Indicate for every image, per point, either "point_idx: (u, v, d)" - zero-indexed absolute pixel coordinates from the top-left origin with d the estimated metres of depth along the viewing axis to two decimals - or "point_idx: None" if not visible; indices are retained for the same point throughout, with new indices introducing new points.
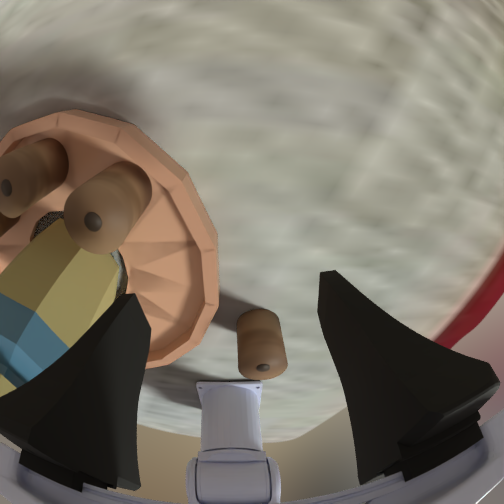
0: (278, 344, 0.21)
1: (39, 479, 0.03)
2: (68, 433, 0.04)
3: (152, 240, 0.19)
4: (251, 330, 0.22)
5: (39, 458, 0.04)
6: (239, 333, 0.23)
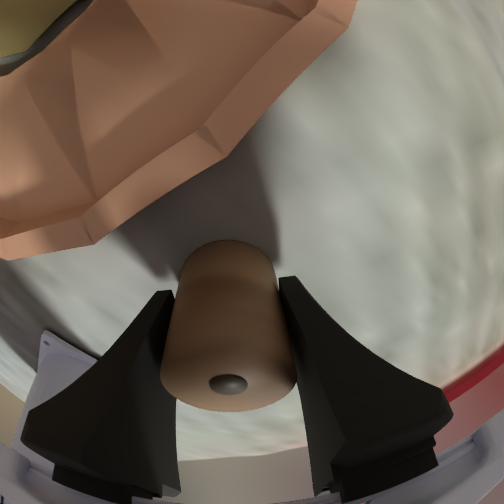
0: (290, 343, 0.08)
1: (39, 479, 0.03)
2: (119, 445, 0.04)
3: None
4: (241, 279, 0.08)
5: (78, 474, 0.04)
6: (199, 273, 0.09)
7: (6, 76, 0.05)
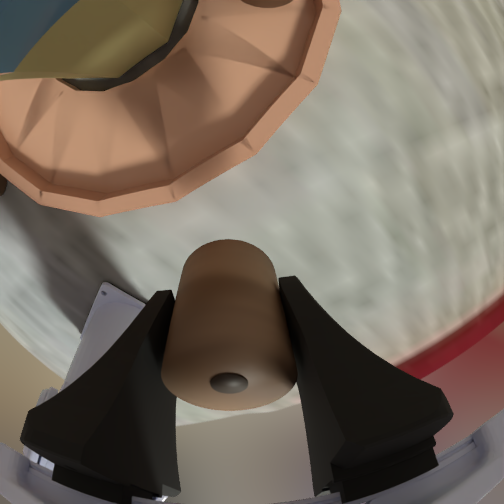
0: None
1: (39, 479, 0.03)
2: (119, 445, 0.04)
3: (243, 36, 0.11)
4: (241, 277, 0.08)
5: (78, 474, 0.04)
6: (199, 272, 0.09)
7: (101, 92, 0.12)
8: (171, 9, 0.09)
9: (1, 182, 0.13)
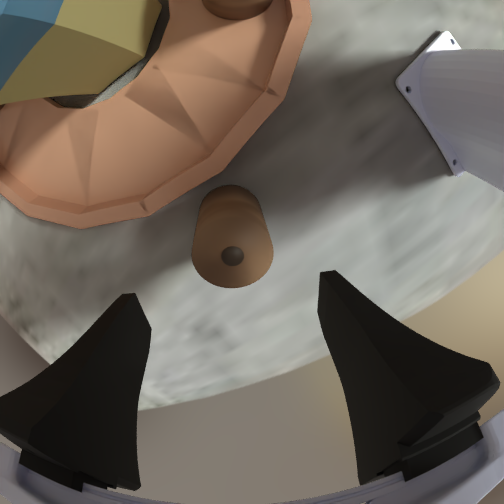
0: None
1: (39, 479, 0.03)
2: (68, 433, 0.04)
3: None
4: None
5: (39, 458, 0.04)
6: None
7: (170, 19, 0.10)
8: None
9: (239, 190, 0.16)
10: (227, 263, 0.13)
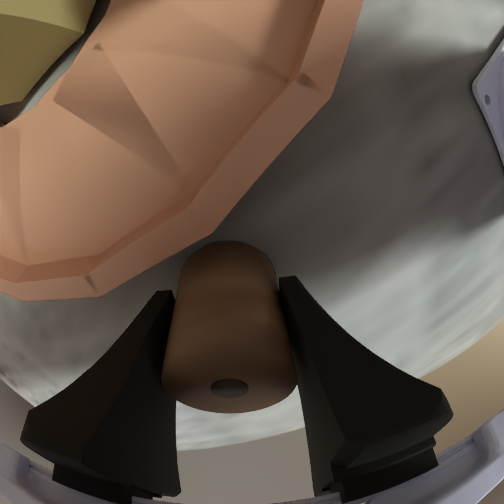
0: None
1: (39, 479, 0.03)
2: (119, 445, 0.04)
3: None
4: None
5: (78, 474, 0.04)
6: None
7: None
8: None
9: (240, 253, 0.10)
10: (221, 393, 0.07)
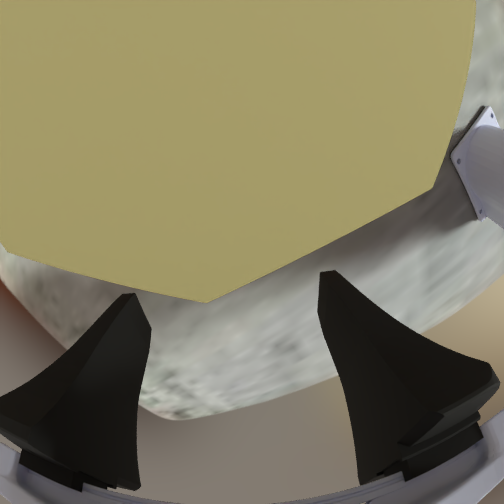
0: None
1: (39, 479, 0.03)
2: (68, 433, 0.04)
3: None
4: None
5: (39, 458, 0.04)
6: None
7: None
8: None
9: None
10: None
